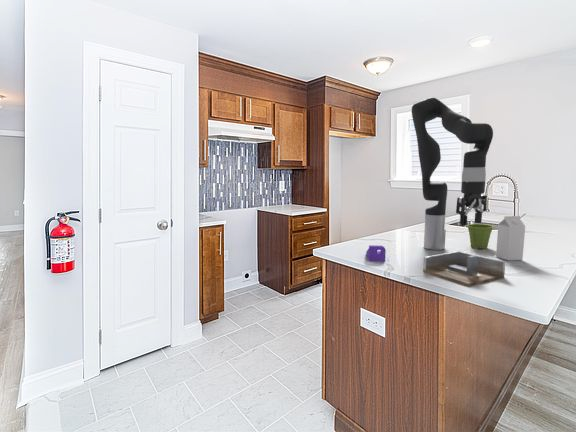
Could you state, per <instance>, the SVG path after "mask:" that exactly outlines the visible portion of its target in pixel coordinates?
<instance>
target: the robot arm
mask: <svg viewBox="0 0 576 432" xmlns="http://www.w3.org/2000/svg"><path fill="white" fill-rule="evenodd" d="M411 118H412V122H413V125H414V126H413V127H414V132H415V135H416V141H417V150H418V151H417V152H418V159H419V164H420V170H421V181H422V183H421V186H422V187H421V188H422V196H423V199H424V200H426V201H429V202H430V201H431V202H432V201H433V202H437V204H435V205H433V206H432V207H431V206H430V207H427V208H425V210H424V211H425V213H424V214H425V215H424V231H423V232H424V236H423V248H424V249H426V250H433V251H435V250H436V251H441V250H442V251H443V249H445V248H446V234H447V233H446V232H447V230H446V229H445V226H446V211H447V210H446V209H447V199H448V185H447V183H446V182H442V181H441V182H440V181H437V182H435V181H434V182H433V181H431V177H432V175H433V173H434V172H435V171H436V169H437V168H438V166H439V164H440V163H441V159H442V157H441V147H440V144H439V143H438V141H436V139H435V138H433V136H432V135H430V134H429V133H428V130H427V127H426V123H428V122H430V121H433V120H435V119H436V118H437V119H438V118H440V119H441V125H442V127H443V129H445V130H446V131H447V132H449V133H451V134H453V135H454V136H456V138H457V139H458V140H459V141H460V142H462V143H464V144H468V145H469V144H470V145H472V144H473V145H474V146H473V149H472V150H468V151H466V152H465V153H464V155H463V165H462V166H463V167H462V172H461V187H460V192H461V193H462V194H463V196H458V197H457V198H456V207H455V208H456V209H455V213H456V214H458V215H459V216H460V217H459V225H460V226H466V227H467V225H468V214H469V212H470V211H472V209H473V210H474V212H475V213H474V224H482V220H483V213H484V212H486V211H487V207H488V206H487V205H488V196H487V194H484V193H486V192H485V191H486V177H487V174H486V172H487V171H486V166H487V165H486V163H487V155H488V152H489V149H490V146H491V144H492V140H493V137H494V130H493V127H492V125H490V123H487V122H486V123H482V122H480V123H479V122H477V123H475V122H473V123H472V121H471V119H470V118H468V117H466V116H465V115H462V114H459V113H457V112H456V111H453V110H452V109H451V108H450V107H449V106H447V105H446V104H445V103H443V102H442V101H441V100H439V99H438V98H436V97H428V98H426V99H422V100H421V101H418V102H416V103H414V104H413V105H412V106H411Z"/></svg>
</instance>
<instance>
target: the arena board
mask: <svg viewBox="0 0 576 432" xmlns="http://www.w3.org/2000/svg"><path fill="white" fill-rule="evenodd" d="M455 265H458V266H462V267H466V268H467V266H465V265H461V264H455ZM450 266H451V265H450ZM422 270H423V273H426V274H429V275H432V276H435V277H438V278H441V279H444V280H448V281H450V282H453V283H456V284H460V285H463V286H465V287H473V286H476V285H479V284H480V285H482V284H485V283H488V282H493V281H496V280H500V279H504V278H505V274H504V275H499V274H495V273H491V272H487V271H483V270H480V269H478V270H477V275H473V276H468V275H464V274H461V273H457V272H454V271H450V270H448V266H444V267H439V268H434V269H429V270H424V269H422Z"/></svg>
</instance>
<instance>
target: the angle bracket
mask: <svg viewBox="0 0 576 432" xmlns="http://www.w3.org/2000/svg"><path fill="white" fill-rule="evenodd" d="M476 255H477V254H474V255H472V256H467V268H466V267H462V266H458V265H451V266H448V270H450V271H454V272H457V273H461V274H464V275H468V276H473V275H477V270H478V256H479V255H478V256H476Z"/></svg>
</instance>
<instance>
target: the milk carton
mask: <svg viewBox="0 0 576 432" xmlns="http://www.w3.org/2000/svg"><path fill="white" fill-rule="evenodd" d="M503 218H504V219H502V220H501V221H500V222H499V223H498V225H497V238H496V239H497V240H496V251H495V257H496V258H500V259H502V260H503V261H523V259H524V256H523V255H524V249H525V248H524V246H525V237H526V235H525V233H526V226H525V224H524V222H523V221H522V220H521V215H508V216H506V215H504V217H503Z"/></svg>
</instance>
